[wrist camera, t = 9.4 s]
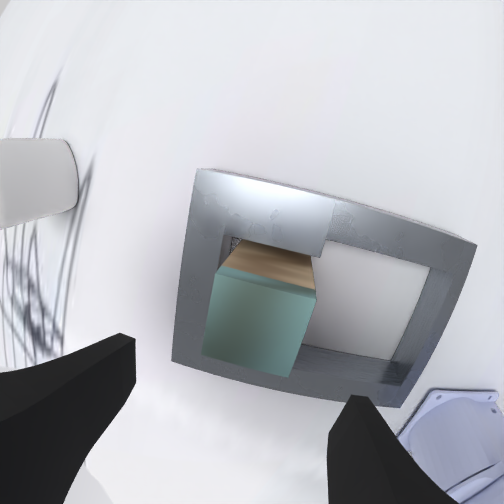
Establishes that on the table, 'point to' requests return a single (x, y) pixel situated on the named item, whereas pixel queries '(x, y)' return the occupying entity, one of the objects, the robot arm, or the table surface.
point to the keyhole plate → (311, 243)
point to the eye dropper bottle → (35, 179)
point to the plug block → (260, 308)
